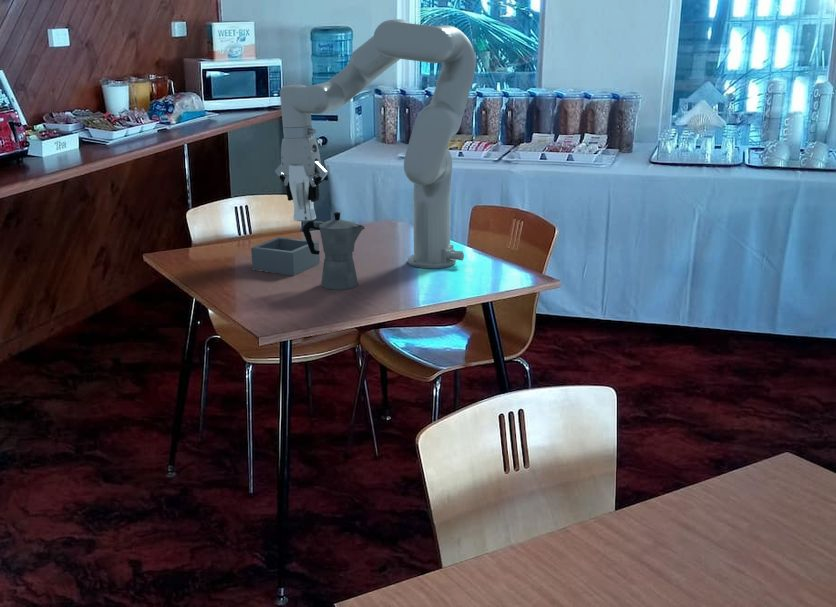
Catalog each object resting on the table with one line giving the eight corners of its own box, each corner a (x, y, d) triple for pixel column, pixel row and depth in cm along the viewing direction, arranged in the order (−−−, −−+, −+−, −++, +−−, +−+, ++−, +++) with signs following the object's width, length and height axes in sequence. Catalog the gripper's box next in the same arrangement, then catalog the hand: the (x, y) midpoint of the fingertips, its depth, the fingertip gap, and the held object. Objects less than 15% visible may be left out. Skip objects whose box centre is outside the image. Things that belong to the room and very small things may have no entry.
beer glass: (316, 221, 244) (311, 165, 239) (290, 222, 244) (285, 166, 240) (319, 215, 251) (315, 161, 246) (294, 216, 251) (289, 162, 246)
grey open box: (319, 263, 241) (318, 241, 239) (294, 275, 230) (292, 252, 229) (279, 258, 246) (278, 237, 244) (252, 270, 235) (251, 247, 234)
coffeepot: (370, 280, 226) (369, 209, 220) (360, 291, 217) (358, 217, 212) (311, 277, 229) (308, 206, 223) (298, 288, 220) (295, 215, 215)
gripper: (333, 131, 240) (338, 199, 246) (278, 130, 247) (283, 196, 253) (318, 135, 234) (324, 204, 239) (262, 134, 241) (268, 201, 246)
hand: (303, 199), depth 246 cm, fingers closed on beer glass, 6 cm apart
